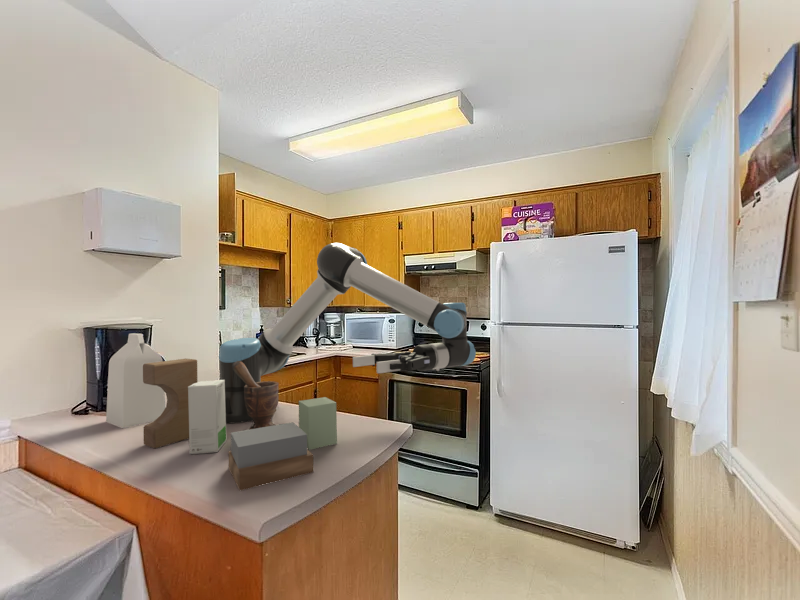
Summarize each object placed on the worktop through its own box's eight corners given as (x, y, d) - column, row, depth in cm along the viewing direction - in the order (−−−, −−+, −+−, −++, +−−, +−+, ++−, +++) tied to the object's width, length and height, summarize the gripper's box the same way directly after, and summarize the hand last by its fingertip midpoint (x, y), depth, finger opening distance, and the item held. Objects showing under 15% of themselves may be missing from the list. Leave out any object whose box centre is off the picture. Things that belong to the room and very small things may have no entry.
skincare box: (217, 453, 91) (216, 385, 92) (186, 455, 90) (185, 386, 90) (227, 440, 100) (226, 378, 100) (199, 442, 99) (198, 379, 99)
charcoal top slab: (231, 452, 82) (230, 432, 82) (293, 440, 89) (293, 422, 89) (238, 468, 74) (238, 447, 74) (307, 454, 80) (306, 434, 80)
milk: (106, 421, 118) (105, 334, 119) (148, 412, 128) (147, 332, 128) (123, 428, 112) (122, 335, 112) (166, 418, 121) (165, 333, 121)
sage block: (299, 441, 98) (298, 401, 98) (325, 436, 102) (325, 397, 102) (309, 449, 92) (308, 406, 92) (336, 443, 96) (336, 402, 96)
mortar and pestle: (255, 445, 96) (254, 362, 96) (227, 441, 99) (226, 361, 100) (285, 430, 107) (284, 356, 107) (260, 427, 110) (259, 355, 110)
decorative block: (153, 449, 94) (152, 365, 95) (142, 445, 98) (141, 363, 98) (199, 436, 103) (198, 359, 104) (188, 432, 107) (187, 358, 107)
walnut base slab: (228, 470, 83) (228, 451, 83) (295, 455, 90) (294, 438, 90) (239, 493, 72) (239, 471, 72) (313, 474, 80) (313, 454, 80)
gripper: (458, 375, 105) (389, 386, 94) (406, 365, 126) (345, 373, 115) (457, 347, 105) (388, 354, 94) (405, 341, 126) (344, 347, 115)
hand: (364, 364), depth 104 cm, fingers open, 13 cm apart
